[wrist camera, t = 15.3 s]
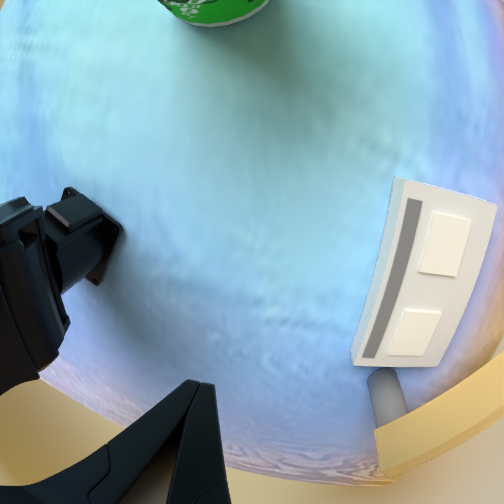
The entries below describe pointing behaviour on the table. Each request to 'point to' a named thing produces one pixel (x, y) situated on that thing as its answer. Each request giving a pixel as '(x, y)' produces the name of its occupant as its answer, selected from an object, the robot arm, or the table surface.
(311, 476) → the table surface
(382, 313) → the white flat block
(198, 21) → the soda can
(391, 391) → the bar
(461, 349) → the table surface
